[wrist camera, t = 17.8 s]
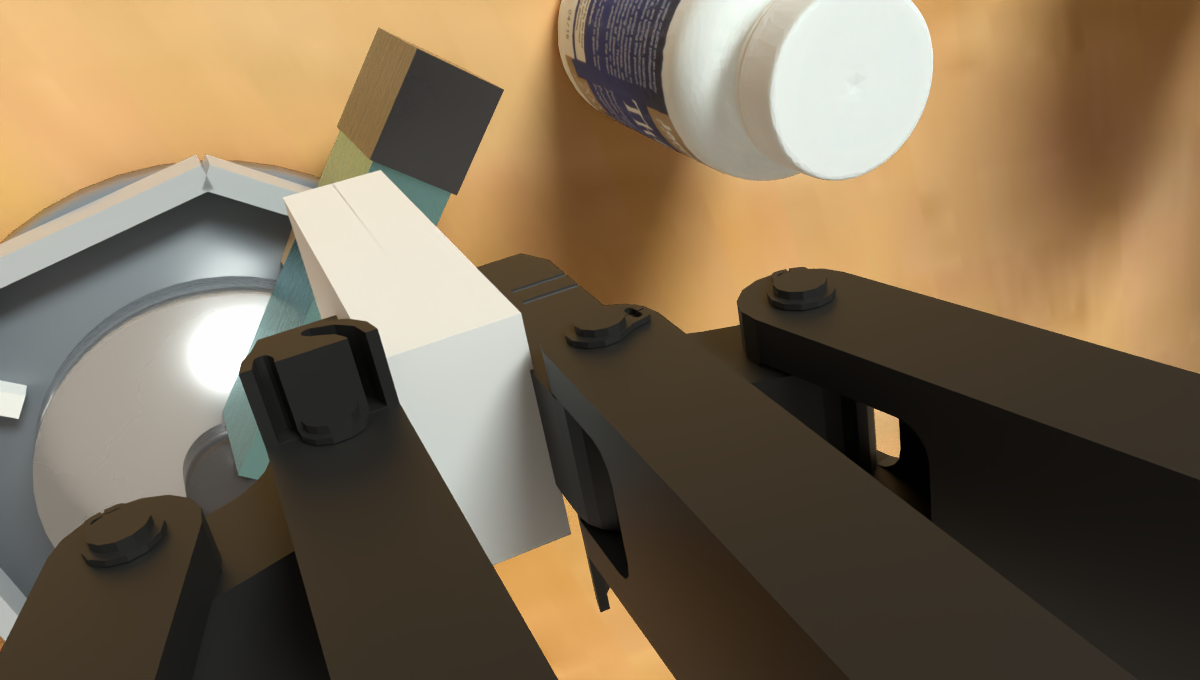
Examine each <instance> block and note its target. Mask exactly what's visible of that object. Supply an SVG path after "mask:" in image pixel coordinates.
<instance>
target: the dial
mask: <svg viewBox="0 0 1200 680" xmlns="http://www.w3.org/2000/svg"><path fill="white" fill-rule="evenodd" d="M503 91H504V90H503V89H502V88H500V87H498V86H496V85H494V84H492V83H490V82H488V81H486V80H484V79H482V78H480V77H479V76H477V75H475V74H473V73H471V72H469V71H467V70H465V69H463V68H461V67H459V66H458V65H455V64H453V63H451V62H449V61H447V60H445V59H443V58H441V57H439V56H437V55H435V54H433V53H430V52H428V51H426V50H424V49H422V48H420V47H418V46H416V45H414V44H412V43H410V42H407V41H405V40H403V39H401V38H399V37H397V36H395V35H393V34H391V33H389V32H387V31H385V30H382V29H380V28H378V30H377V32H376V35H375V37H374V40H373V42H372V44H371V47H370V49H369V52H368V54H367V56H366V59H365V61H364V64H363V66H362V68H361V71H360V73H359V75H358V78H357V80H356V83H355V85H354V87H353V90H352V92H351V95H350V97H349V99H348V102H347V104H346V107H345V109H344V111H343V114H342V116H341V118H340V121H339V123H338V126H337V127H338V128H339V129H340V132H339V135H338V137H337V140H336V142H335V144H334V147H333V149H332V151H331V154H330V156H329V159H328V161H327V163H326V166H325V168H324V171H323V173H322V175H321V178H320V180H319V182H318V185H317V187H316V188H318V187H322V186H325V185H329V184H332V183H336V182H339V181H343V180H347V179H350V178H354V177H357V176H361V175H364V174H368V173H371V172H375V171H379V170H381V171H382V172H383V173H384V174H385V175H386V176H387V177H388V178H389V179H390V180H391V181H392V182H393V183H394V184H395V185H396V186H397V187H398V188H399V189H400V190H401V191H402V192H403V193H404V194H405V196H406V197H407V198H408V199H409V200H410V201H411V202H412V203H413V204H414V205H415V206H416V207H417V208H418V209H419V210H420V211H421V212H422V213H423V214H424V215H425V216H426V217H427V218H428V219H429V220H430V221H431V222H432V223H433V224H434V225H435V226H437V223H438V221H439V219H440V217H441V214H442V212H443V210H444V208H445V205H446V203H447V201H448V199H449V196H450V194H451V193H452V194H455V195H457V194H458V191H459V189H460V187H461V185H462V183H463V180H464V178H465V176H466V174H467V171H468V169H469V167H470V165H471V162H472V160H473V158H474V156H475V153H476V151H477V149H478V147H479V144H480V142H481V140H482V138H483V135H484V133H485V131H486V129H487V127H488V124H489V122H490V120H491V118H492V115H493V113H494V111H495V109H496V106H497V104H498V102H499V100H500V97H501V95H502V93H503ZM319 320H322V319H321V316H320V313H319V310H318V307H317V303H316V300H315V297H314V294H313V291H312V288H311V285H310V282H309V278H308V275H307V272H306V269H305V266H304V263H303V260H302V257H301V253H300V250H299V247H298V244H297V241H296V238H295V240H294V242H293V244H292V247H291V249H290V252H289V254H288V256H287V259H286V261H285V264H284V266H283V268H282V271H281V273H280V275H279V278H278V280H274V279H267V278H259V277H252V276H222V277H212V278H203V279H197V280H192V281H188V282H184V283H179V284H175V285H172V286H169V287H166V288H163V289H160V290H158V291H155V292H152V293H149V294H147V295H145V296H143V297H141V298H139V299H137V300H135V301H133V302H131V303H129V304H127V305H125V306H124V307H122V308H121V309H119V310H118V311H116V312H115V313H113V314H112V315H110V316H109V317H107V318H106V319H104V320H103V321H102V322H101V323H99V324H98V325H97V326H96V327H95V328H94V329H93V330H91V331H90V332H89V333H88V334H87V335H86V336H84V338H83V339H82V340H81V341H80V342H79V343H78V344H77V345H76V347H75V348H74V349H73V350H72V351H71V352H70V353H69V354H68V356H67V357H66V359H65V360H64V362H63V363H62V365H61V366H60V368H59V369H58V371H57V372H56V374H55V375H54V378H53V380H52V382H51V384H50V386H49V388H48V390H47V392H46V394H45V397H44V400H43V403H42V407H41V410H40V413H39V417H38V422H37V430H36V438H35V448H34V459H33V490H34V496H35V501H36V505H37V510H38V514H39V517H40V519H41V522H42V524H43V527H44V529H45V532H46V534H47V536H48V538H49V539H50V541H51V543H52V544H53V546H54V548H56V546H57V545H58V544H59V543H60V541H61V540H62V539H63V538H65V537H66V536H67V535H69V534H70V533H71V532H73V531H74V530H75V529H76V528H78V527H79V526H80V525H82V524H83V523H84V521H86V520H87V519H88V518H90V517H92V516H94V515H95V514H97V513H99V512H100V513H103V512H104V510H105V509H107V508H109V507H112V506H114V505H116V504H120V503H128V502H131V501H134V500H138V499H141V498H146V497H154V496H162V495H174V496H181V497H188V498H190V499H191V500H193V501H194V502H195V503H196V504H198V505H199V506H200V507H201V508H202V511H203V513H204V516H206V515H208V514H210V513H212V512H214V511H216V510H217V509H219V508H221V507H223V506H224V505H226V504H227V503H229V502H231V501H232V500H234V499H235V498H237V497H239V496H240V495H241V494H243V493H244V492H245V491H246V490H247V489H249V488H250V487H251V486H252V485H253V484H254V483H256V481H257V480H258V479H259V478H260V476H261V475H262V474H263V473H264V472H265V470H266V468H267V466H268V463H269V458H268V454H267V451H266V448H265V445H264V442H263V440H262V437H261V434H260V431H259V429H258V426H257V423H256V421H255V418H254V415H253V412H252V410H251V407H250V404H249V402H248V399H247V396H246V393H245V391H244V388H243V385H242V382H241V380H240V377H239V374H238V373H239V369H240V364H241V362H242V360H243V359H244V358H245V357H246V356H247V355H248V354H249V353H250V352H251V350H252V349H253V347H254V345H255V344H256V342H257V340H258V339H262V338H265V337H268V336H271V335H274V334H277V333H281V332H284V331H287V330H290V329H293V328H296V327H300V326H303V325H306V324H309V323H312V322H315V321H319Z"/></svg>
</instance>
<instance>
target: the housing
mask: <svg viewBox="0 0 1200 680" xmlns="http://www.w3.org/2000/svg"><path fill="white" fill-rule="evenodd" d="M319 180H320V178H318V177H315V176H313V175H310V174H306V173H302V172H298V171H294V170H291V169H287V168H283V167H279V166H275V165H267V164H259V163H251V162H244V161H226V160H223V159H220V158H216V157H213V156H210V155H207V154H205V156H204V160H203V161H200V160H199V158H198V157H197V155H193V156H191V157H189V158H187V159H185V160H183V161H180V162H178V163H173V164H164V165H157V166H153V167H149V168H145V169H141V170H137V171H132V172H128V173H124V174H120V175H117V176H114V177H112V178H109V179H106V180H104V181H101V182H99V183H96V184H93V185H91V186H88V187H85V188H83V189H80V190H78V191H77V192H75V193H73V194H71V195H69V196H67V197H65V198H63V199H62V200H60V201H58V202H56V203H54V204H52V205H50V206H49V207H47V208H45V209H43V210H42V211H41V212H39V213H38V214H36V215H35V216H34V217H32V218H31V219H29V220H28V221H27V222H25V223H24V224H22V225H21V226H20V227H18V228H17V229H15V230H14V231H13V232H11V233H10V234H9V235H8V236H7V237H6V238H5V239H4V240H3V241H2V242H1V243H0V636H1V637H2V638H3V640H4V641H6V639H7V637H8V635H9V633H10V631H11V629H12V627H13V625H14V623H15V621H16V619H17V617H18V615H19V613H20V611H21V609H22V607H23V605H24V603H25V601H26V599H27V597H28V595H29V593H30V591H31V590H32V588H33V586H34V584H35V582H36V580H37V578H38V576H39V574H40V572H41V570H42V568H43V566H44V564H45V562H46V560H47V558H48V557H49V555H50V554H51V553H52V552H53V550H54V549H55V548H54V546H53V544H52V543H51V541H50V539H49V538H48V536H47V534H46V532H45V529H44V527H43V524H42V522H41V519H40V517H39V514H38V510H37V505H36V501H35V496H34V490H33V459H34V448H35V438H36V430H37V422H38V417H39V413H40V410H41V407H42V403H43V400H44V397H45V394H46V392H47V390H48V388H49V386H50V384H51V382H52V380H53V378H54V375H55V374H56V372H57V371H58V369H59V368H60V366H61V365H62V363H63V362H64V360H65V359H66V357H67V356H68V354H69V353H70V352H71V351H72V350H73V349H74V348H75V347H76V345H77V344H78V343H79V342H80V341H81V340H82V339H83V338H84V336H86V335H87V334H88V333H89V332H90V331H91V330H93V329H94V328H95V327H96V326H97V325H98V324H99V323H101V322H102V321H103V320H104V319H106V318H107V317H109V316H110V315H112V314H113V313H115V312H116V311H118V310H119V309H121V308H122V307H124V306H125V305H127V304H129V303H131V302H133V301H135V300H137V299H139V298H141V297H143V296H145V295H147V294H149V293H152V292H155V291H158V290H160V289H163V288H166V287H169V286H172V285H175V284H179V283H184V282H188V281H192V280H197V279H203V278H212V277H222V276H252V277H259V278H267V279H274V280H278V278H279V275H280V273H281V271H282V268H283V266H284V264H285V261H286V259H287V256H288V254H289V252H290V249H291V247H292V244H293V242H294V240H295V235H294V232H293V228H292V225H291V222H290V219H289V216H288V213H287V210H286V207H285V203H284V200H283V197H286V196H289V195H293V194H297V193H300V192H304V191H307V190H311V189H314V188H316V187H317V185H318V182H319Z"/></svg>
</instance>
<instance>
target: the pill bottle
mask: <svg viewBox="0 0 1200 680" xmlns="http://www.w3.org/2000/svg"><path fill="white" fill-rule="evenodd" d="M558 46H559V51H560V56H561V59H562V63H563V66H564V69H565V71H566V73H567V75H568V77H569V79H570V80H571V82H572V84H573V85H574V87H575V89H576V90H577V91H578V92H579V94H580V95H581V96H582V97H583V98H584V100H586V101H587V102H588V103H589V104H590V105H591V106H592V107H594V108H595V109H597V110H598V111H599V112H601V113H603V114H604V115H606V116H608V117H610V118H611V119H613V120H615V121H617V122H619V123H621V124H623V125H625V126H627V127H629V128H631V129H633V130H635V131H637V132H639V133H641V134H643V135H645V136H647V137H649V138H651V139H653V140H655V141H657V142H659V143H661V144H663V145H665V146H667V147H669V148H671V149H673V150H675V151H677V152H680V153H682V154H684V155H686V156H689V157H691V158H693V159H695V160H696V161H698V162H700V163H703V164H705V165H707V166H709V167H711V168H713V169H715V170H718V171H720V172H722V173H725V174H728V175H731V176H734V177H738V178H742V179H747V180H756V181H768V180H777V179H782V178H787V177H790V176H793V175H796V174H799V173H803V174H806V175H809V176H812V177H815V178H818V179H824V180H846V179H851V178H855V177H858V176H861V175H863V174H866V173H868V172H870V171H872V170H873V169H875V168H876V167H878V166H880V165H881V164H883V163H884V162H885V161H887V160H888V159H889V158H890V157H891V156H892V155H893V154H894V153H895V152H896V151H898V149H899V148H900V147H901V146H902V145H903V143H904V142H905V141H906V140H907V139H908V137H909V136H910V134H911V132H912V131H913V129H914V128H915V126H916V124H917V123H918V121H919V119H920V117H921V115H922V112H923V110H924V107H925V105H926V102H927V99H928V95H929V91H930V87H931V81H932V73H933V50H932V43H931V38H930V33H929V30H928V28H927V25H926V22H925V20H924V18H923V16H922V14H921V13H920V11H919V10H918V8H917V7H916V6H915V5H914V3H913V2H912V1H911V0H562V1H561V4H560V10H559V16H558Z"/></svg>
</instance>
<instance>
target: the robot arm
mask: <svg viewBox="0 0 1200 680" xmlns="http://www.w3.org/2000/svg"><path fill="white" fill-rule="evenodd" d="M283 200H284V203H285V207H286V210H287V213H288V216H289V219H290V222H291V225H292V228H293V232H294V235H295V238H296V241H297V244H298V247H299V250H300V253H301V257H302V260H303V263H304V266H305V269H306V272H307V275H308V278H309V282H310V285H311V288H312V291H313V294H314V297H315V300H316V303H317V307H318V310H319V313H320V316H321V319H322V320H319V321H315V322H312V323H309V324H306V325H303V326H300V327H296V328H293V329H290V330H287V331H284V332H281V333H277V334H274V335H271V336H268V337H265V338H262V339H258V340H257V342H256V344H255V345H254V347H253V349H252V350H251V352H250V353H249V354H248V355H247V356H246V357H245V358H244V359H243V360H242V362H241V364H240V369H239V373H238V374H239V377H240V380H241V382H242V385H243V388H244V391H245V393H246V396H247V399H248V402H249V404H250V407H251V410H252V412H253V415H254V418H255V421H256V423H257V426H258V429H259V431H260V434H261V437H262V440H263V442H264V445H265V448H266V451H267V454H268V458H269V463H268V466H267V468H266V470H265V472H264V473H263V474H262V475H261V476H260V478H259V479H258V480H257V481H256V483H254V484H253V485H252V486H251V487H250V488H249V489H247V490H246V491H245V492H244V493H243V494H241V495H240V496H239V497H237V498H235V499H234V500H232V501H231V502H229V503H227V504H226V505H224V506H223V507H221V508H219V509H217V510H216V511H214V512H212V513H210V514H208V515H206V516H204V513H203V511H202V508H201V507H200V506H199V505H198V504H196V503H195V502H194V501H193V500H191V499H190V498H188V497H181V496H174V495H162V496H154V497H146V498H141V499H138V500H134V501H131V502H128V503H120V504H116V505H114V506H112V507H109V508H107V509H105V510H104V512H103V513H100V512H99V513H97V514H95V515H94V516H92V517H90V518H88V519H87V520H86V521H84V523H83V524H82V525H80V526H79V527H78V528H76V529H75V530H74V531H73V532H71V533H70V534H69V535H67V536H66V537H65V538H63V539H62V540H61V541H60V543H59V544H58V545H57V546H56V548H55V549H54V550H53V552H52V553H51V554H50V555H49V557H48V558H47V560H46V562H45V564H44V566H43V568H42V570H41V572H40V574H39V576H38V578H37V580H36V582H35V584H34V586H33V588H32V590H31V591H30V593H29V595H28V597H27V599H26V601H25V603H24V605H23V607H22V609H21V611H20V613H19V615H18V617H17V619H16V621H15V623H14V625H13V627H12V629H11V631H10V633H9V635H8V637H7V639H6V641H5V643H4V645H3V647H2V649H1V651H0V680H558V679H557V677H556V675H555V673H554V672H553V670H552V668H551V666H550V665H549V663H548V661H547V659H546V658H545V656H544V654H543V652H542V651H541V649H540V647H539V645H538V644H537V642H536V640H535V638H534V637H533V635H532V633H531V631H530V630H529V628H528V626H527V624H526V623H525V621H524V619H523V617H522V616H521V614H520V612H519V610H518V609H517V607H516V605H515V603H514V602H513V600H512V598H511V597H510V595H509V593H508V591H507V590H506V588H505V586H504V584H503V583H502V581H501V579H500V577H499V576H498V574H497V572H496V570H495V569H494V567H493V565H495V564H497V563H500V562H502V561H505V560H507V559H510V558H512V557H515V556H517V555H520V554H522V553H525V552H527V551H530V550H532V549H535V548H537V547H540V546H542V545H545V544H547V543H550V542H552V541H555V540H557V539H560V538H562V537H565V536H567V535H570V534H571V531H570V527H569V523H568V518H567V514H566V509H565V505H564V501H563V496H562V494H563V495H564V496H565V498H566V499H567V500H568V502H569V503H570V504H571V506H572V507H573V508H574V510H575V511H576V512H577V514H578V518H579V523H580V527H581V532H582V536H583V541H584V545H585V550H586V554H587V559H588V564H589V568H590V573H591V577H592V582H593V586H594V591H595V595H596V599H597V603H598V606H599V609H600V612H603V611H605V610H608V609H610V606H609V601H608V597H607V592H608V590H609V588H611V589H612V590H613V592H614V593H615V595H616V596H617V597H618V599H619V600H620V602H621V603H622V604H623V606H624V607H625V609H626V610H627V611H628V613H629V614H630V616H631V617H632V618H633V620H634V621H635V623H636V624H637V625H638V627H639V628H640V630H641V631H642V632H643V634H644V635H645V637H646V638H647V639H648V641H649V642H650V644H651V645H652V646H653V648H654V649H655V651H656V652H657V653H658V655H659V656H660V658H661V659H662V660H663V662H664V663H665V665H666V666H667V667H668V669H669V670H670V672H671V673H672V674H673V676H674V677H675V679H676V680H1200V374H1198V373H1194V372H1191V371H1187V370H1184V369H1180V368H1177V367H1173V366H1170V365H1166V364H1163V363H1159V362H1156V361H1152V360H1149V359H1145V358H1142V357H1138V356H1135V355H1131V354H1128V353H1124V352H1121V351H1117V350H1114V349H1110V348H1107V347H1103V346H1100V345H1096V344H1093V343H1089V342H1086V341H1083V340H1079V339H1076V338H1072V337H1069V336H1065V335H1062V334H1058V333H1055V332H1051V331H1048V330H1044V329H1041V328H1037V327H1034V326H1030V325H1027V324H1023V323H1020V322H1016V321H1013V320H1009V319H1006V318H1002V317H999V316H995V315H992V314H988V313H985V312H981V311H978V310H974V309H971V308H967V307H964V306H960V305H957V304H953V303H950V302H946V301H943V300H940V299H936V298H933V297H929V296H926V295H922V294H919V293H915V292H912V291H908V290H905V289H901V288H898V287H894V286H891V285H887V284H884V283H880V282H877V281H873V280H870V279H866V278H863V277H859V276H856V275H852V274H849V273H845V272H840V271H834V270H828V269H807V268H805V267H797V268H790V269H789V271H787V270H786V269H785V270H781V271H777V272H774V273H773V274H772V275H770V276H767V277H765V278H762V279H759V280H757V281H755V282H754V283H752V284H751V285H749V286H748V287H746V288H745V289H744V290H742V292H741V294H740V296H739V298H738V300H737V305H738V313H739V321H740V325H737V326H732V327H726V328H721V329H715V330H709V331H704V332H697V333H689V334H686V333H684V332H683V331H682V330H680V329H679V328H678V327H676V326H675V325H674V324H673V323H671V322H670V321H669V320H667V319H666V318H665V317H663V316H662V315H661V314H659V313H658V312H656V311H653V310H651V309H649V308H647V307H644V306H638V305H629V304H617V305H603V304H601V303H600V302H599V301H598V300H597V299H595V298H594V297H593V296H592V295H590V294H589V293H588V292H587V291H586V290H584V289H583V288H582V287H581V286H577V283H576V282H575V281H574V280H572V279H571V278H570V277H569V276H568V275H566V276H565V274H564V272H563V271H562V270H560V269H559V268H558V267H557V266H556V265H554V264H553V263H552V262H551V261H550V260H547V259H543V258H538V257H534V256H530V255H526V254H518V255H514V256H511V257H508V258H505V259H502V260H499V261H495V262H492V263H489V264H486V265H483V266H479V267H475V266H474V265H473V264H472V263H471V262H470V261H469V260H468V259H467V258H466V257H465V256H464V255H463V254H462V252H461V251H460V250H459V249H458V248H457V247H456V246H455V245H454V244H453V243H452V242H451V241H450V240H449V239H448V238H447V237H446V236H445V235H444V234H443V233H442V232H441V231H440V230H439V229H438V228H437V227H436V226H435V225H434V224H433V223H432V222H431V221H430V220H429V219H428V218H427V217H426V216H425V215H424V214H423V213H422V212H421V211H420V210H419V209H418V208H417V207H416V206H415V205H414V204H413V203H412V202H411V201H410V200H409V199H408V198H407V197H406V196H405V194H404V193H403V192H402V191H401V190H400V189H399V188H398V187H397V186H396V185H395V184H394V183H393V182H392V181H391V180H390V179H389V178H388V177H387V176H386V175H385V174H384V173H383V172H382V171H381V170H379V171H375V172H371V173H368V174H364V175H361V176H357V177H354V178H350V179H347V180H343V181H339V182H336V183H332V184H329V185H325V186H322V187H318V188H314V189H311V190H307V191H304V192H300V193H297V194H293V195H289V196H286V197H283ZM874 408H875V409H877V410H880V411H882V412H885V413H887V414H890V415H892V416H895V417H897V418H898V419H899V427H900V446H901V450H900V457H899V458H897V457H893V456H889V455H887V454H885V453H882V452H880V451H878V450H877V449H876V434H875V419H874Z"/></svg>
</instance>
